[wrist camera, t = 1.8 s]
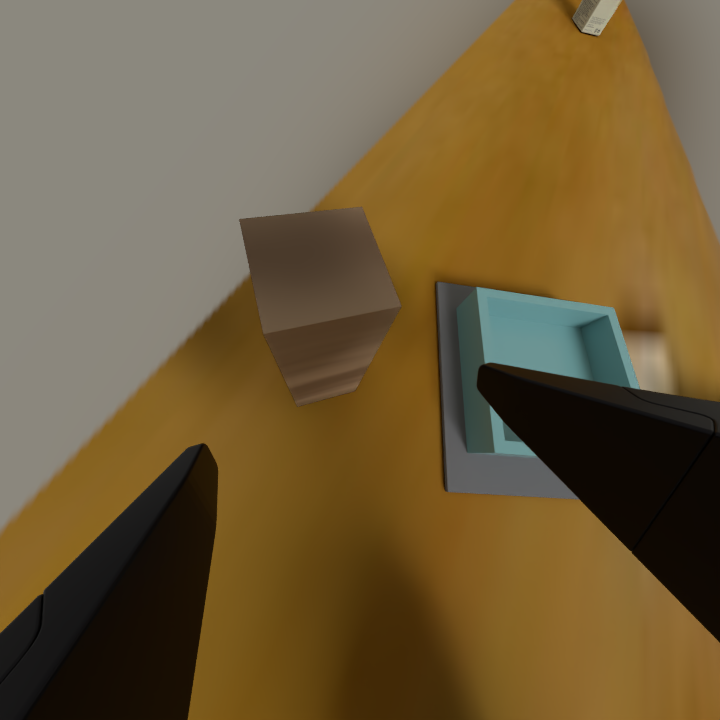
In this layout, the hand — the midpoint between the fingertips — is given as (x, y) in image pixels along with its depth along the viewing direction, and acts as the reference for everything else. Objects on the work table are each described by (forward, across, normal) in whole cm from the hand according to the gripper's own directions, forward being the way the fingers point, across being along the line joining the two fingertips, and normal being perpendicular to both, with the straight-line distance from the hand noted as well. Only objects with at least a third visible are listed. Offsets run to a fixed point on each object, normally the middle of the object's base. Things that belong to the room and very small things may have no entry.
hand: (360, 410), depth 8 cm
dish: (+8, -17, +8) cm, 20 cm away
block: (+12, 0, +5) cm, 13 cm away
